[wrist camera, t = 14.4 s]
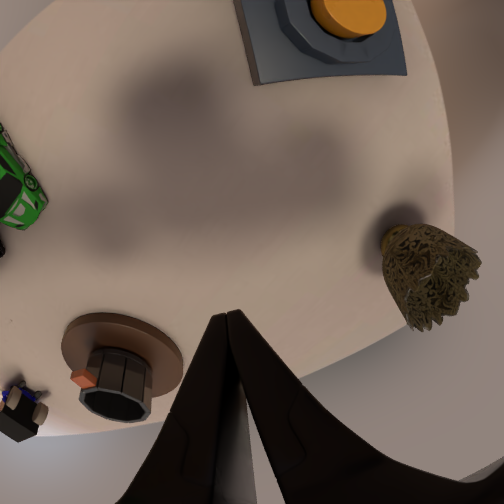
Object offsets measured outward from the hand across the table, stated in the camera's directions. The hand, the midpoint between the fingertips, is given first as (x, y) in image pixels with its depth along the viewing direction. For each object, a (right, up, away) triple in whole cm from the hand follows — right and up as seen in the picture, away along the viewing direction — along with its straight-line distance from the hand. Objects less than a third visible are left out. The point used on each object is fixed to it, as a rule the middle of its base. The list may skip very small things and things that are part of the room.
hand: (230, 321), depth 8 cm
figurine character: (-35, -20, +20) cm, 45 cm away
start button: (+5, +15, +2) cm, 16 cm away
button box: (+5, +17, +5) cm, 18 cm away
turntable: (-13, -9, +17) cm, 23 cm away
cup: (+13, +3, +15) cm, 20 cm away
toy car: (-18, +8, +6) cm, 21 cm away
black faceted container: (-13, -9, +16) cm, 22 cm away
